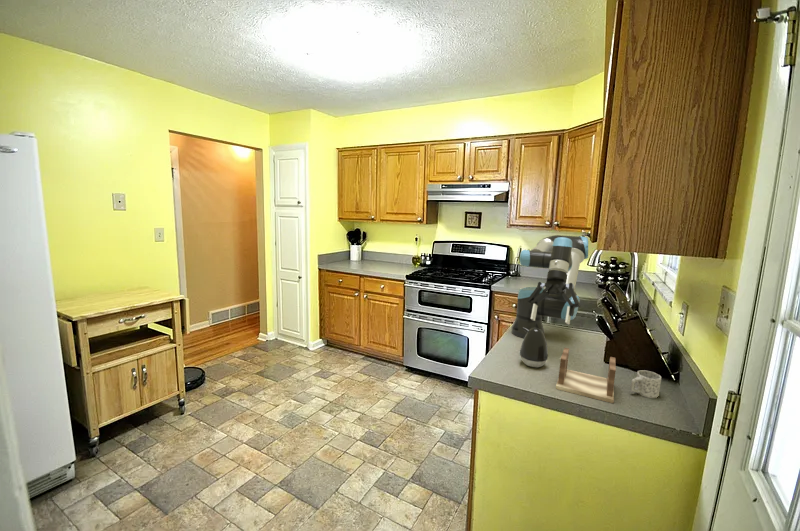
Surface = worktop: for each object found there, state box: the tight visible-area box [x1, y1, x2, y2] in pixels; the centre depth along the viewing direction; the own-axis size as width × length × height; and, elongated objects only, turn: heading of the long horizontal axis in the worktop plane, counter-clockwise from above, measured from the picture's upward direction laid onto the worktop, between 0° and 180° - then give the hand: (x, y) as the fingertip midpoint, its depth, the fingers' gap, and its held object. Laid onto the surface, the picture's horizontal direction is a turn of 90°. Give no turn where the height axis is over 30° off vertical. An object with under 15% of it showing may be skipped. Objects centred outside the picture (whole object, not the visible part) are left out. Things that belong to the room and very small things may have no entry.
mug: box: [629, 369, 662, 399], centre depth 119 cm, size 10×7×7 cm, turn 102°
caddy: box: [555, 347, 617, 404], centre depth 123 cm, size 16×17×10 cm
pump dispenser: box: [519, 327, 549, 368], centre depth 139 cm, size 10×10×15 cm
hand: (549, 321), depth 142 cm, fingers open, 13 cm apart
